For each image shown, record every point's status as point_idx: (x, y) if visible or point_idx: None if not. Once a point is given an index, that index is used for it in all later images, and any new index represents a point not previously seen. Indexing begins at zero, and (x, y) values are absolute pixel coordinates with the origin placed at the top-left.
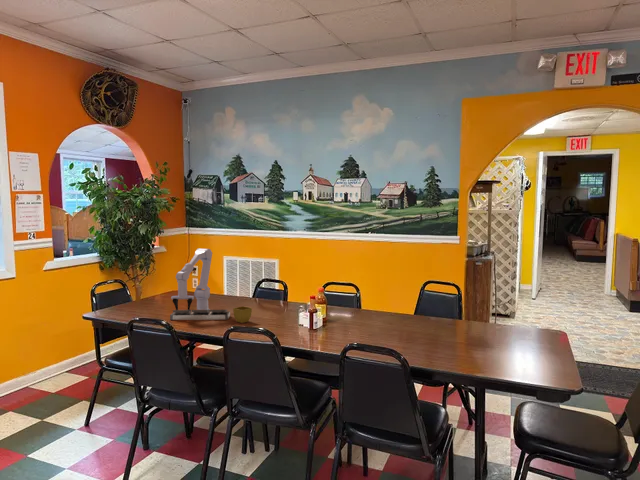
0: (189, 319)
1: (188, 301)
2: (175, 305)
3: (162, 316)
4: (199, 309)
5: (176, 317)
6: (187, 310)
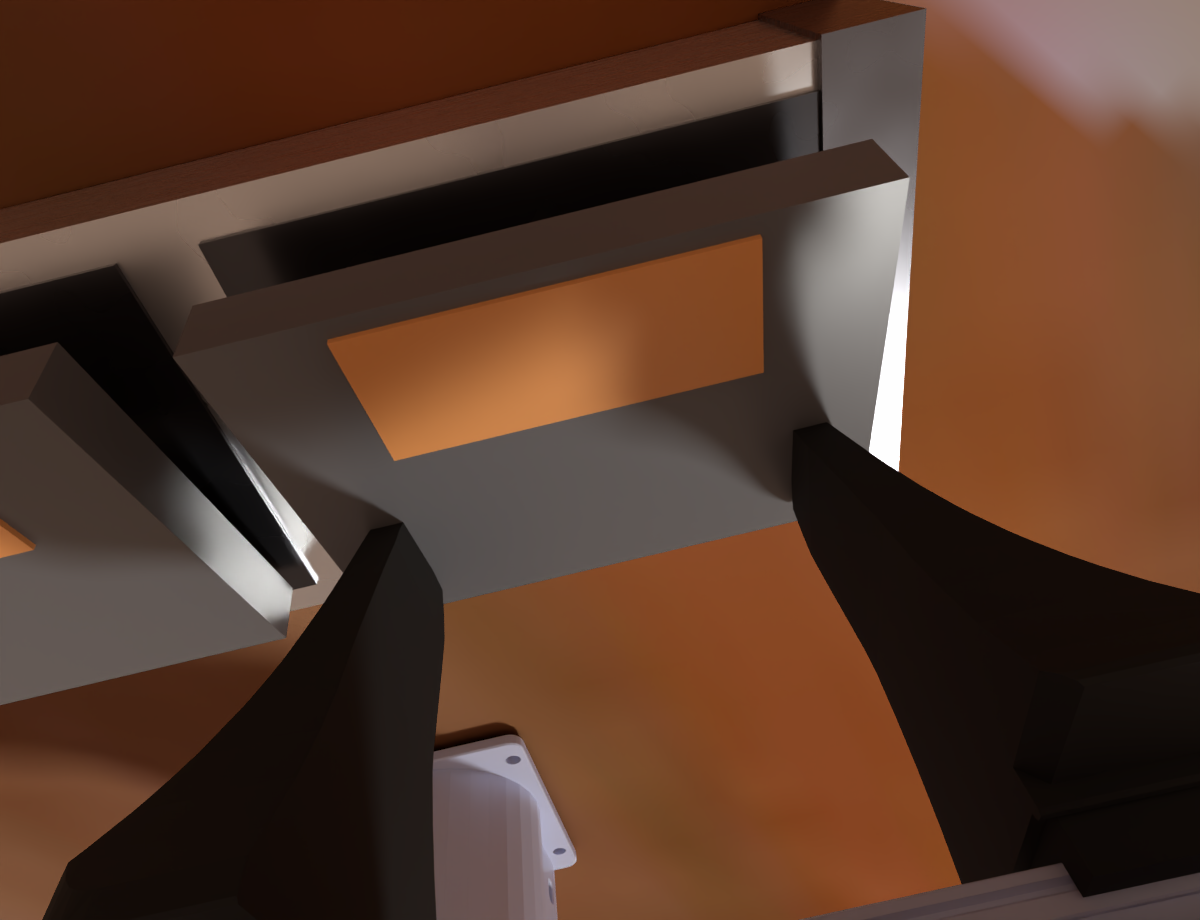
0: (200, 162)
1: (206, 830)
2: (926, 511)
3: (1137, 351)
4: (446, 811)
5: (646, 67)
6: (224, 340)
